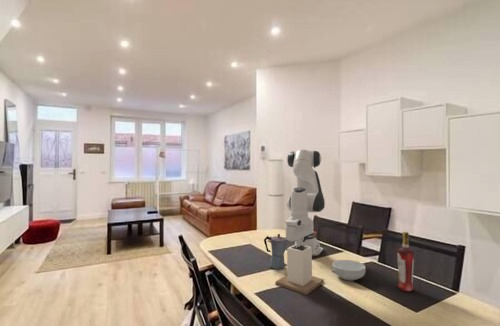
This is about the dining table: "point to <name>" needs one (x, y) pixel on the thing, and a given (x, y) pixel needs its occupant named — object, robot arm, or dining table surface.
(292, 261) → the hollow square stand
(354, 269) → the cereal bowl
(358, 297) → the dining table surface
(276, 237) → the moka pot
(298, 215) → the robot arm
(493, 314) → the dining table surface
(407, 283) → the liquor
